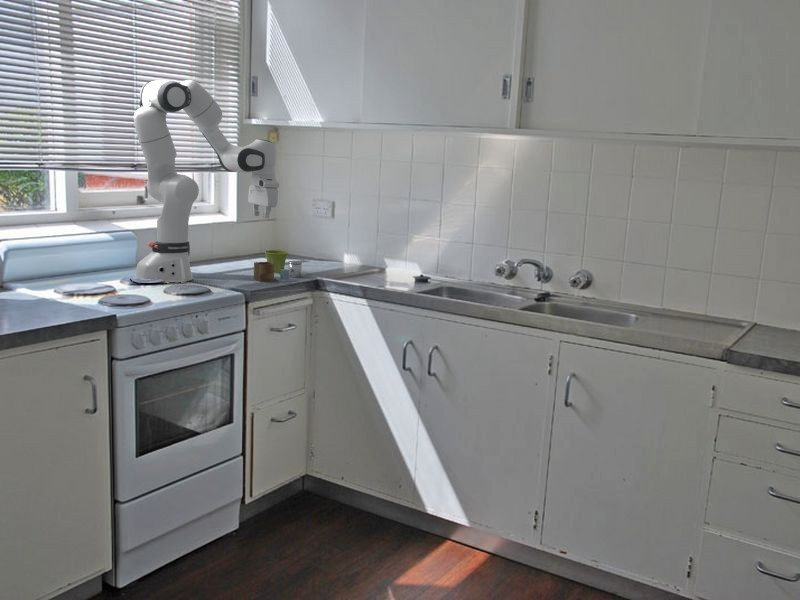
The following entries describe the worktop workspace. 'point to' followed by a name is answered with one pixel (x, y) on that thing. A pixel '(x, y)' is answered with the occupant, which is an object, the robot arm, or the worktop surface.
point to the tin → (295, 269)
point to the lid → (284, 276)
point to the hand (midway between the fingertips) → (261, 216)
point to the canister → (263, 271)
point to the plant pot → (276, 259)
